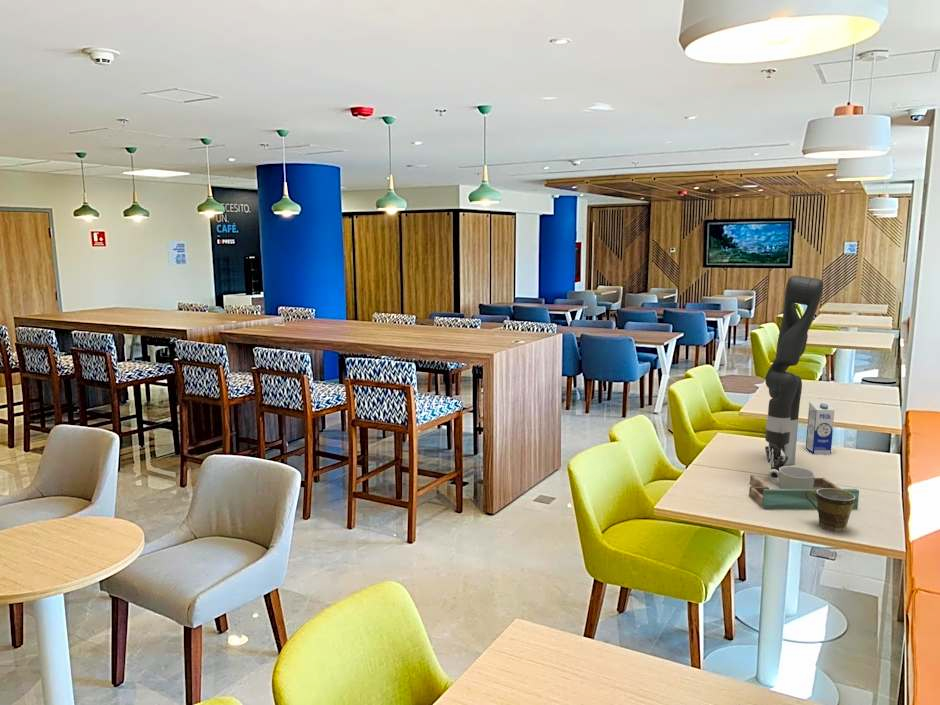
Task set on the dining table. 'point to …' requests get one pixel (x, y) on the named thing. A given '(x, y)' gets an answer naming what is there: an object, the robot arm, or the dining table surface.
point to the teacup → (793, 477)
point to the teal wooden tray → (791, 495)
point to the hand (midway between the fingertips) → (774, 477)
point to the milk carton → (820, 428)
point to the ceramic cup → (833, 507)
